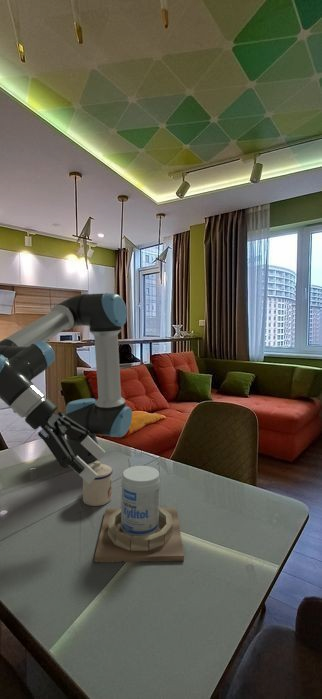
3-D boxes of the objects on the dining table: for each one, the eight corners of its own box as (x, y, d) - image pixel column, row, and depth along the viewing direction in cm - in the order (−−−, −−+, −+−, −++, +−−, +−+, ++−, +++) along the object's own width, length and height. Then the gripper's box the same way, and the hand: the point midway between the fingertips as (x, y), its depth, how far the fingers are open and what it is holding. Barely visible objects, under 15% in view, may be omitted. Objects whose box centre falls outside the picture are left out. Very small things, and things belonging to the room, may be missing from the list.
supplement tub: (119, 541, 80) (119, 481, 79) (122, 518, 90) (122, 465, 89) (159, 540, 80) (160, 481, 79) (158, 518, 90) (159, 464, 89)
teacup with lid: (115, 504, 99) (115, 465, 98) (84, 509, 96) (83, 470, 95) (107, 485, 110) (107, 451, 110) (79, 490, 107) (79, 454, 106)
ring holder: (105, 512, 94) (105, 500, 94) (176, 511, 95) (176, 499, 95) (94, 562, 74) (94, 546, 74) (183, 560, 75) (184, 545, 75)
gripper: (40, 405, 94) (95, 456, 96) (2, 435, 69) (76, 503, 71) (59, 387, 94) (113, 438, 96) (27, 410, 69) (101, 479, 71)
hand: (98, 466), depth 83 cm, fingers open, 13 cm apart
